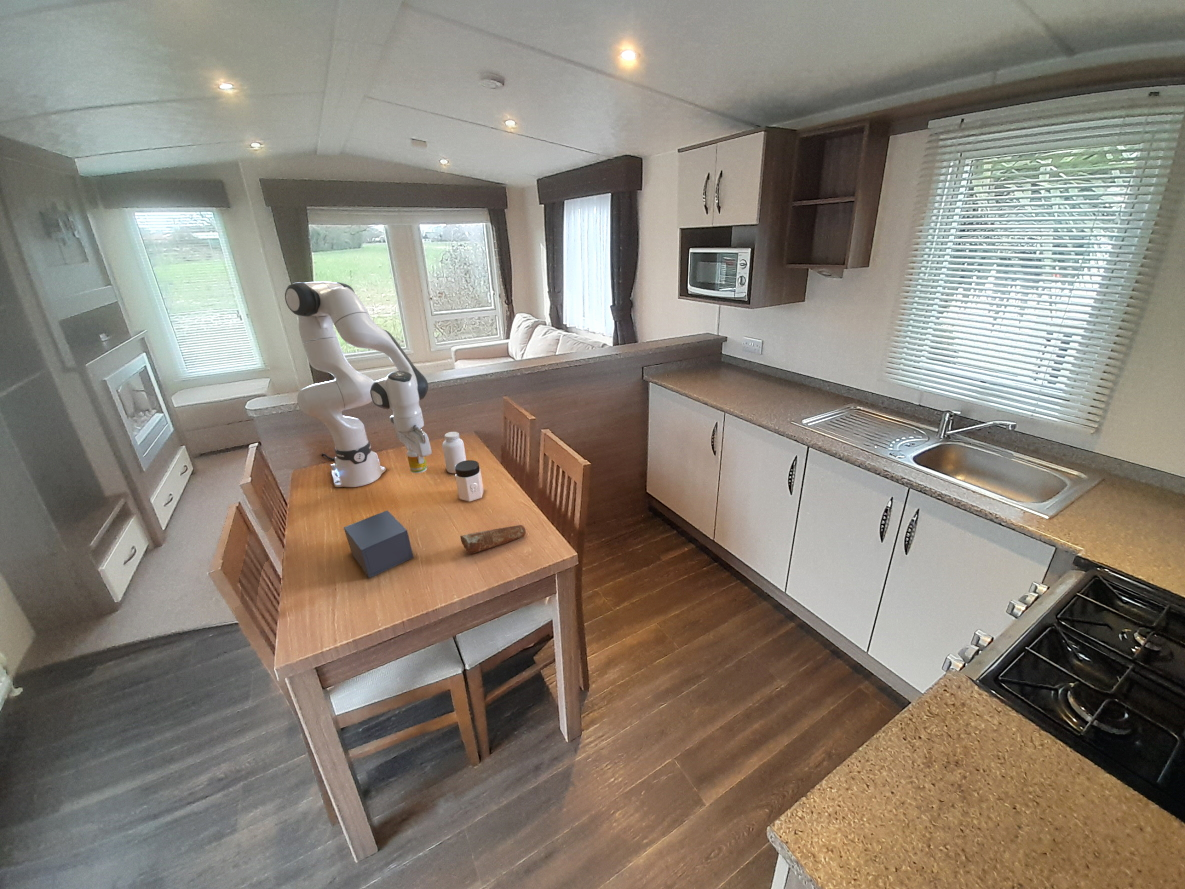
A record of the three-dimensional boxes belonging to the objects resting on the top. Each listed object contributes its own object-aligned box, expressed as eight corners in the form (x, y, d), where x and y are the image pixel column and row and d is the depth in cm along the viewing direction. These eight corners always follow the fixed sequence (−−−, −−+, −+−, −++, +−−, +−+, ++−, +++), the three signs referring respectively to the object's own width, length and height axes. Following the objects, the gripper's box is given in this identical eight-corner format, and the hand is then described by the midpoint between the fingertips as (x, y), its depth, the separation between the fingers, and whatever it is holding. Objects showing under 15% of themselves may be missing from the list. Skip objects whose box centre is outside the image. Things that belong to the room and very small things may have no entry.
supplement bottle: (427, 472, 160) (422, 446, 156) (410, 475, 159) (404, 449, 155) (427, 465, 165) (422, 440, 161) (410, 467, 164) (405, 442, 160)
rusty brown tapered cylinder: (461, 547, 141) (458, 532, 139) (523, 530, 148) (521, 515, 146) (466, 560, 136) (463, 544, 134) (529, 541, 143) (528, 526, 141)
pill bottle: (471, 465, 189) (466, 431, 183) (460, 475, 182) (454, 439, 176) (454, 463, 192) (448, 429, 185) (442, 472, 185) (436, 437, 179)
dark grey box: (351, 554, 140) (343, 527, 136) (394, 536, 148) (387, 510, 143) (369, 578, 130) (361, 550, 126) (413, 557, 138) (407, 530, 134)
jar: (463, 504, 163) (458, 473, 158) (455, 494, 169) (450, 464, 164) (488, 496, 168) (483, 466, 163) (479, 486, 174) (474, 457, 169)
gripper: (432, 428, 149) (439, 466, 155) (405, 410, 163) (413, 446, 169) (413, 434, 145) (421, 473, 151) (387, 415, 159) (395, 452, 165)
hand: (416, 459), depth 160 cm, fingers closed on supplement bottle, 5 cm apart
